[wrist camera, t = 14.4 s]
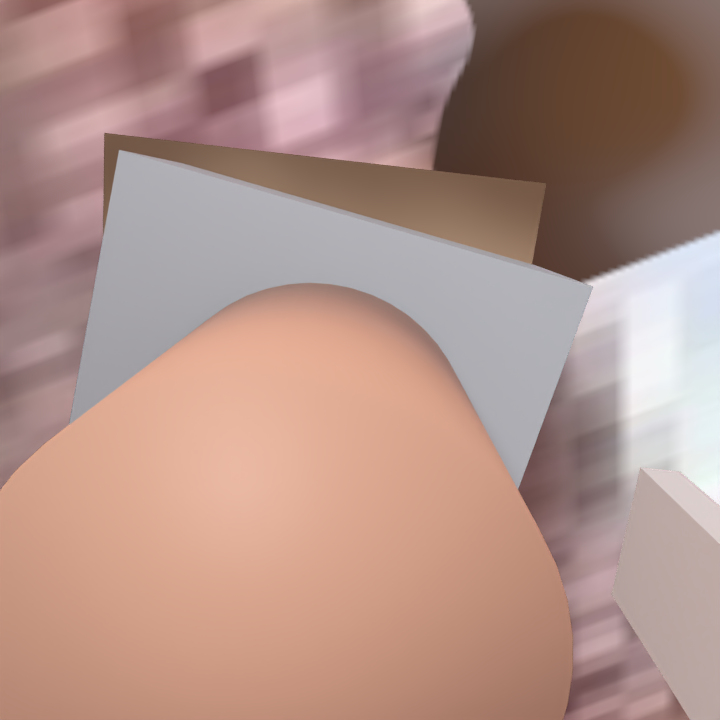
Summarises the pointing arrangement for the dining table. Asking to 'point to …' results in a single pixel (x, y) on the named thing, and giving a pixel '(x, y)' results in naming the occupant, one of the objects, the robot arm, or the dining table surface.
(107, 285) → the tower top
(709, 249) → the dining table surface
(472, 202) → the tower base
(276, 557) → the peach rounded blob
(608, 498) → the dining table surface
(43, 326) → the dining table surface
